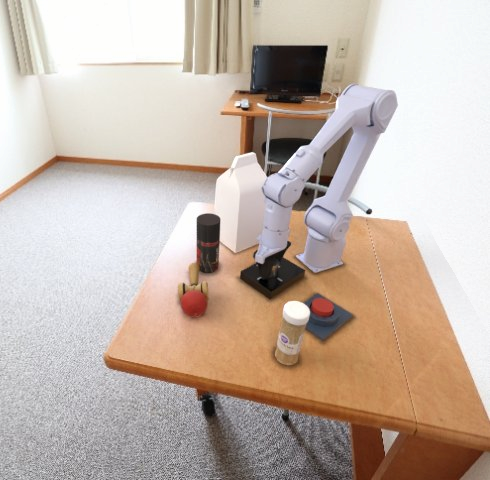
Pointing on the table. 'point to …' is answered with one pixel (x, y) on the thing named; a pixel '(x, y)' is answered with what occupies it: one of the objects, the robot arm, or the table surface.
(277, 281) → the hob panel
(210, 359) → the table surface
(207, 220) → the deodorant
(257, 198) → the milk
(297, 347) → the sprinkles bottle
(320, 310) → the push knob
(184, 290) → the kendama
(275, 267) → the dial
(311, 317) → the button base
